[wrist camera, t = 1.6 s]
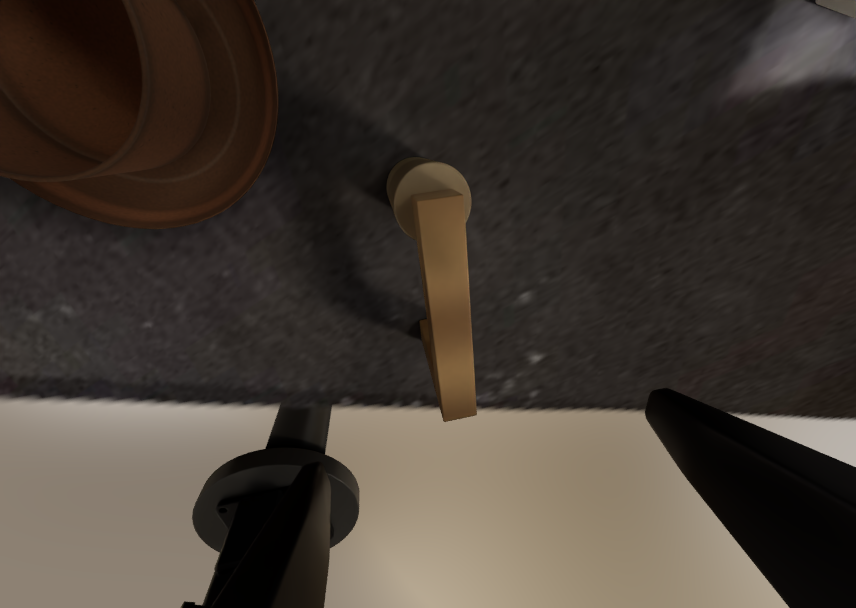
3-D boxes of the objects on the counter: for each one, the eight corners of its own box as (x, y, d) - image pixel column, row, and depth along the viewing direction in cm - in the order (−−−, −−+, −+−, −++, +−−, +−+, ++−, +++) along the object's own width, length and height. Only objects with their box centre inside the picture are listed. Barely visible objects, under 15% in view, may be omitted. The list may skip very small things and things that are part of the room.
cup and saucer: (-6, -278, 10) (-508, -845, 4) (342, 61, 14) (325, 9, 9) (-109, 84, 12) (-486, 36, 7) (209, 266, 17) (135, 323, 12)
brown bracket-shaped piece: (455, 334, 22) (491, 412, 15) (411, 342, 21) (428, 425, 15) (440, 153, 17) (483, 158, 10) (381, 160, 16) (389, 171, 10)
